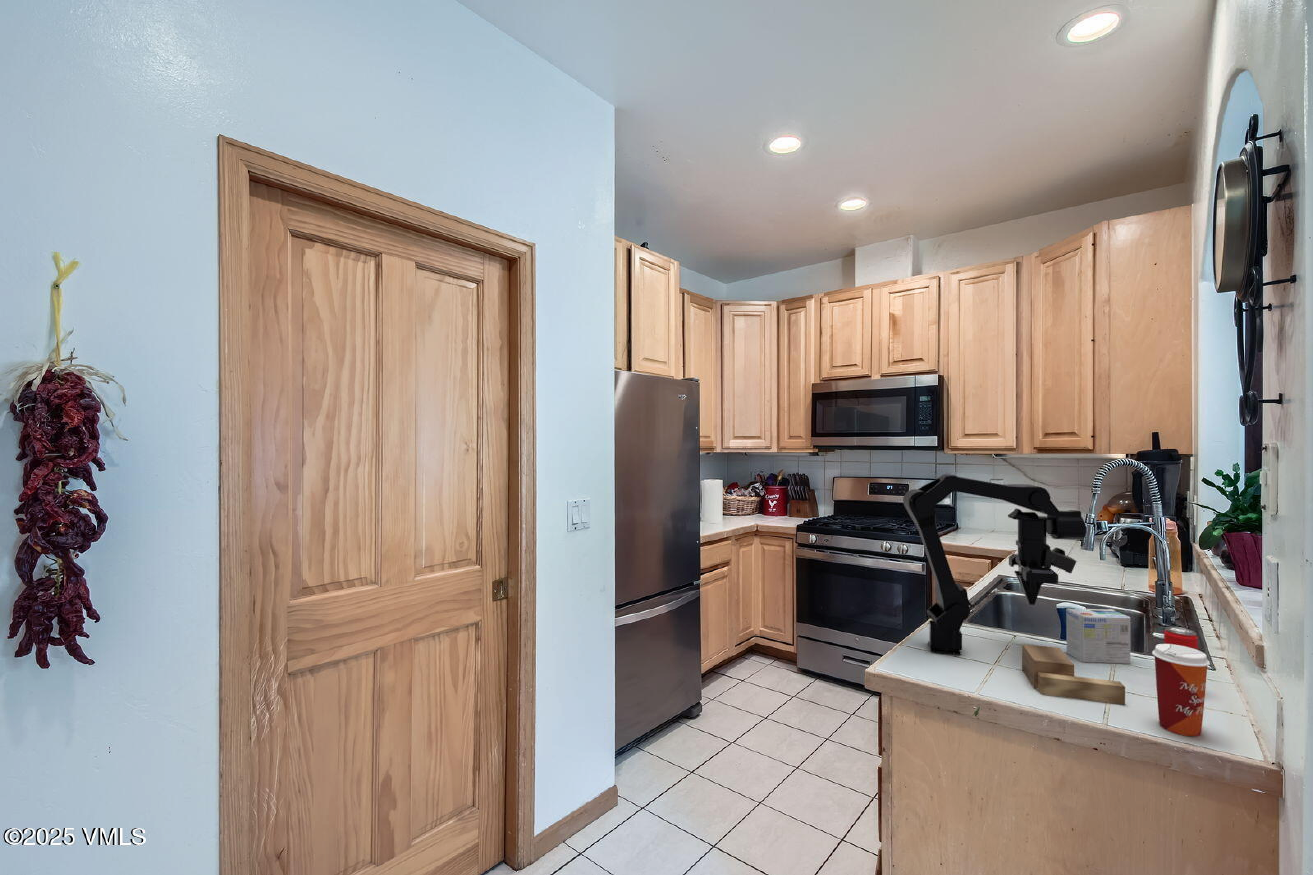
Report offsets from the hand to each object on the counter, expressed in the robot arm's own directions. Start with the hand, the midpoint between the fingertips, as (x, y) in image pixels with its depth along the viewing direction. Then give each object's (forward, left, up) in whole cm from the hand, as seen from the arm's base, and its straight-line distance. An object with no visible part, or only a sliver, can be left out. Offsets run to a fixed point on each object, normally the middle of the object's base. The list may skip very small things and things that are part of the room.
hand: (1031, 604), depth 140 cm
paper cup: (+16, -31, -12) cm, 37 cm away
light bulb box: (+14, +3, -12) cm, 19 cm away
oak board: (+3, -22, -12) cm, 25 cm away
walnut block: (-1, -16, -12) cm, 20 cm away
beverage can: (+24, -11, -12) cm, 29 cm away
